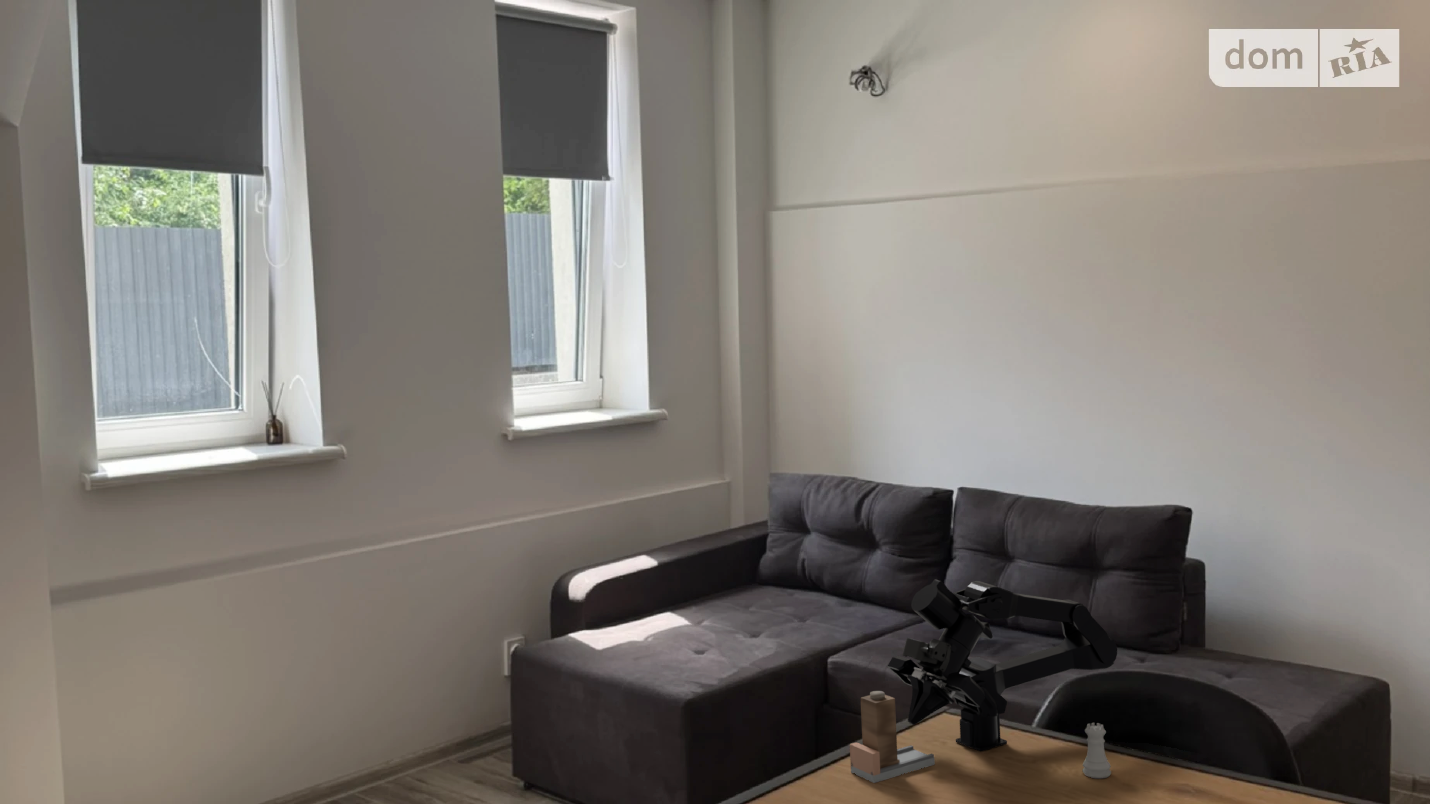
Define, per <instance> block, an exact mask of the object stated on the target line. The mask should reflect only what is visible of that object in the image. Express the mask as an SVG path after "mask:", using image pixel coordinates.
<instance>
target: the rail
mask: <svg viewBox="0 0 1430 804" xmlns="http://www.w3.org/2000/svg"><path fill="white" fill-rule="evenodd" d="M849 757H850V759H849V760H850V773H851V774H853V773H855V774H856V776H858V777H860V778H862V777H863V778H862V779H864V778H865V780H867V781H868V780H869V782H871V783H873V784H875V783H878V782H882V781H885V780H889V779H892V778H895V777H898V776H902V775H905V774H909V773H912V772H915V771H918V770H921V768H922V769H925V768H928V767H931V766H934V765H935V764H936V762H935V761H936V760H935V754H934V753H929V754H926V753H925V752H924V753H923V752H921V751H920V750H917V749H914V745H908V746H903V747H900V748H897V757H898V759H899V760H900V763H898V764H894V765H891V766H888V767H884V768H881V769H880V755H879V752H878V751H876V750H873V749H871V748H869V747H866V746H864V745H863V743H862V744H861V743H859V742H852V743H850V744H849ZM924 767H925V768H924ZM914 770H915V771H914ZM911 771H912V772H911ZM908 772H909V773H908ZM904 773H905V774H904ZM855 774H854V775H855ZM901 774H902V775H901Z"/></svg>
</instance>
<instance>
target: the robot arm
mask: <svg viewBox="0 0 1430 804" xmlns="http://www.w3.org/2000/svg"><path fill="white" fill-rule="evenodd" d="M910 605H911V609H912V610H913V611H914V612H915V613H916V614H918V616H920V618H922V619H923V620H924V621H926V623H928V625H930V627H932V628H934V629H935V630H938V631H940V630H943V629H944V630H943V632H942V634H941V635H940V637H939V639H935V638H932V639H930V641H929V643H928V642H924V641H921V640H917V639H913V638H911V637H910V638H909V637H906V640H905V642H904V643H905V644H904V647H903V650H902V655H901V656H900V655H896V656H892V657H891V659H890V661H889V662H888V664H887V666H886V667H887V668H888V669H889V670H890V672H892V673H893V674H894V675H895V676H896V677H897V678H898V679H899V680H900V681H902V682H903V684H906V685H907V686H909V687H910V686H911V689H912V691H911V692H912V693H911V699H910V705H909V711H908V717H907V722H908V723H909V724H910V725H912V726H915V725H917V724H918V723H919V722H921V721H923V720H924V719H925V718H926V719H927V717H929V716H930V715H931V714H933V713H935V712H936V711H939V710H940V709H942V708H944V707H946V706H947V705H949V704H954V703H955V704H956V705H958V706H961V707H962V708H961V709H960V719H959V738H956V739H955V742H956V743H957V744H959V745H962V746H965V747H968V748H970V749H973V750H974V751H975V750H976V751H978V752H984V751H987V750H992V749H994V748H997V747H1000V746H1004V745H1007V744H1008V740H1006V739H1004V738H1001V723H1000V722H1001V721H1000V720H1001V719H1000V718H1001V717H1000V715H1002V714H1005V712H1006V709H1007V705H1008V701H1007V700H1006V699H1005V697H1003V696H1002V695H1003V693H1004V692H1005V691H1006V690H1008V689H1011V688H1014V687H1018V686H1021V685H1024V684H1027V683H1031V682H1034V681H1037V680H1042V679H1045V678H1047V677H1051V676H1054V675H1057V674H1060V673H1063V672H1068V671H1072V670H1078V671H1079V670H1081V671H1082V670H1083V671H1098V670H1107V669H1109V668H1111V667H1112V666H1114V665H1115V660H1116V659H1117V655H1118V647H1117V643H1116V641H1115V640H1114V639H1112V638H1111V637H1109V635H1108V633H1107V632H1106V630H1105V629H1104V628H1103V627H1102V626H1101V625H1100V624H1099V623H1098V621H1097V620H1095V618H1094V617H1093V616H1092V614H1091V613H1090V610H1088V609H1089V608H1088V607H1086V606H1085V604H1083V603H1080V602H1077V601H1074V600H1071V599H1063V600H1062V599H1056V598H1049V597H1043V596H1035V595H1031V594H1030V595H1029V594H1023V593H1015V592H1013V591H1010V590H1009V589H1008V590H1007V589H1004V588H1002V587H999V586H996V585H993V584H991V583H986V582H983V581H979V580H975V581H971V582H970V584H969V585H967V586H966V588H963V589H960V590H957V591H955V592H952V591H951V590H950V589H949V588H948V587H947V586H946V584H945V583H944V582H943V581H941V580H938V579H937V578H936V579H934V580H932V582H931V583H930V584H927V585H925V586H924V587H922V588H921V589H920V590H918V591H916V593H915V594H914V596H913V598H912V600H911V604H910ZM963 610H964V611H968V612H969V613H965V612H964V611H963ZM974 614H975V615H978V616H981V617H983V618H985V619H989V620H994V621H995V620H1008V619H1011V618H1015V617H1022V618H1031V619H1036V620H1042V621H1043V620H1045V621H1052V622H1058V623H1059V622H1060V623H1061V629H1062V633H1063V636H1064V639H1063V640H1062V641H1061V642H1060V644H1059V645H1058V644H1057V646H1053V647H1049V648H1046V649H1042V650H1040V651H1036V652H1032V653H1029V654H1025V655H1022V656H1018V657H1015V658H1011V659H1008V660H1005V661H1002V662H998V663H993V662H991V661H989V660H986V659H984V658H982V657H979V656H976V657H973V658H971V659H969V657H970V655H971V654H972V651H973V650H974V648H975V646H976V644H977V642H978V641H979V640H980V638H983V639H989V640H991V639H993V637H994V636H993V632H992V629H991V627H990V626H991V624H990V623H989V622H984V621H981V620H979V619H978V618H977V617H976V616H975V615H974ZM907 657H909V658H907ZM911 658H913V660H916V661H915V662H914V661H913V660H912V659H911ZM921 667H922V668H921Z"/></svg>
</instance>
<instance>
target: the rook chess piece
mask: <svg viewBox="0 0 1430 804" xmlns="http://www.w3.org/2000/svg"><path fill="white" fill-rule="evenodd" d="M1084 732H1085V734H1086V735H1087V738H1086V742H1087V751H1086V752H1087V754H1086V757H1085V758H1084V759H1085V760H1084V761H1083V763H1082V767H1083V769H1082V772H1083V774H1084V776H1086V777H1088V778H1090V777H1091V778H1092V779H1097V780H1099V779H1106V778H1109V777H1110V775H1111V774H1112V771H1111V764H1110V762H1109V761H1108V758H1107V755H1106V753H1105V752H1106V751H1105V747H1104V746H1105V745H1104V744H1105V742H1106V740H1105V739H1104V736H1105V734H1106V733H1107V731H1106V730H1105V728H1104V724H1101V723H1099V722H1097V723H1096V725H1095V722H1091V723H1087V725H1086V727H1085V729H1084Z"/></svg>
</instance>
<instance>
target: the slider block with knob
mask: <svg viewBox="0 0 1430 804" xmlns="http://www.w3.org/2000/svg"><path fill="white" fill-rule="evenodd" d="M860 715H861V717H860V719H861V734H862V735H861V738H862V739H861V740H862V745H864V746H866V747H869V748H871V749H873V750H876V751H878V752H879V755H880V769H881V768H884V767H888V766H891V765H894V764H898V763H900V760H899V759H898V757H897V749H898V739H897V738H898V737H897V720H896V719H897V716H896V698H895V697H893V696H890V695H887V694H885V692H884V691H882V690H873V691H870V692H869V695H865V696H861V697H860Z"/></svg>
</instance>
